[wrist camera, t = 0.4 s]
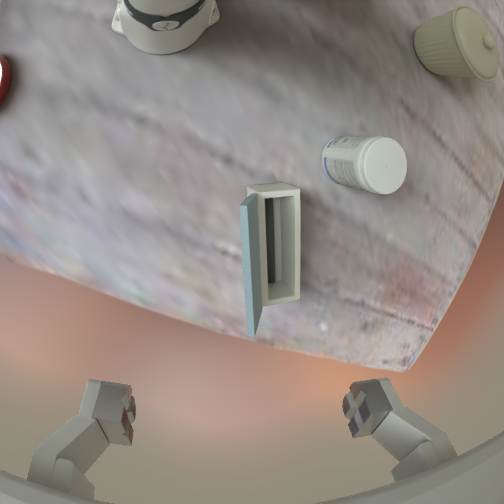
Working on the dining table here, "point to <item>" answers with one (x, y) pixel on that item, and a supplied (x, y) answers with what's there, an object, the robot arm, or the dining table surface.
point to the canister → (458, 45)
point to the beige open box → (278, 241)
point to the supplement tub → (365, 163)
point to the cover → (251, 261)
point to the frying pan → (4, 77)
